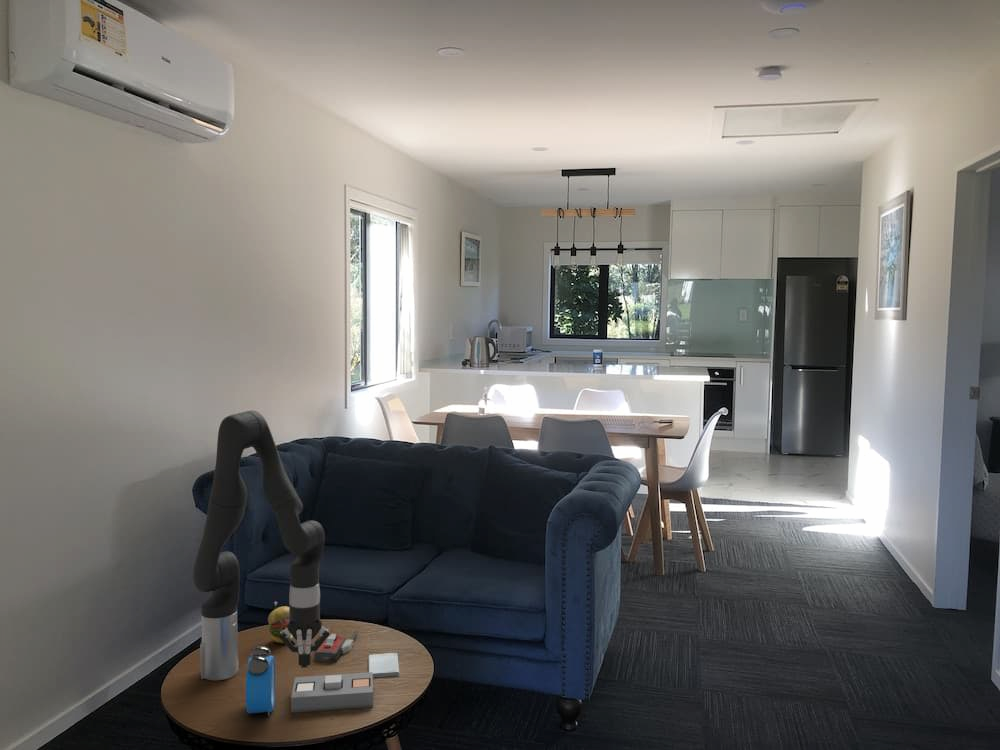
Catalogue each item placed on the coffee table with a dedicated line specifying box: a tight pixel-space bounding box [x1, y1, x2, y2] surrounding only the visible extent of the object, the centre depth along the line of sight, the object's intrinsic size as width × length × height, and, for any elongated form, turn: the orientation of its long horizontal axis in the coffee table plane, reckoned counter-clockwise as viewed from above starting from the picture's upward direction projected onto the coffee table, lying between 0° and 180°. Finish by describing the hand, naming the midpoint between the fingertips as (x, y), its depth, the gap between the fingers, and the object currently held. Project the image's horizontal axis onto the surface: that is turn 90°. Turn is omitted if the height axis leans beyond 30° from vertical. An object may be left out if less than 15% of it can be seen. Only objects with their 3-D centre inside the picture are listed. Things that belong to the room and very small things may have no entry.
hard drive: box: [368, 652, 400, 678], centre depth 224 cm, size 2×8×12 cm
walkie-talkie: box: [313, 630, 359, 662], centre depth 235 cm, size 9×4×20 cm
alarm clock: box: [245, 644, 276, 717], centre depth 199 cm, size 13×6×15 cm, turn 11°
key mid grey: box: [325, 674, 342, 690], centre depth 205 cm, size 4×4×3 cm
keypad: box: [290, 671, 374, 713], centre depth 205 cm, size 20×11×4 cm, turn 99°
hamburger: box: [267, 601, 294, 644], centre depth 240 cm, size 8×7×12 cm
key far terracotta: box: [353, 679, 369, 688], centre depth 206 cm, size 4×4×3 cm
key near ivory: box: [296, 683, 314, 692], centre depth 204 cm, size 4×4×3 cm
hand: (304, 666), depth 204 cm, fingers closed
